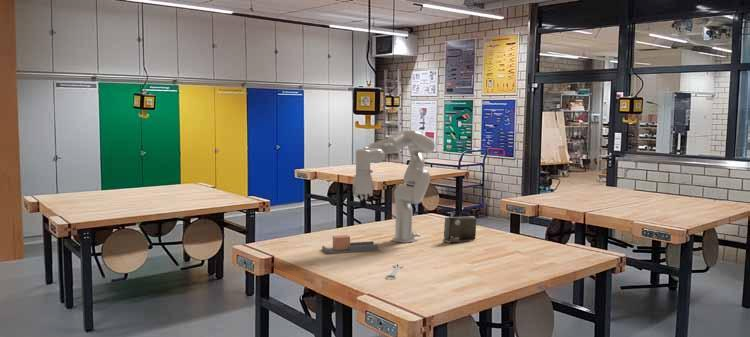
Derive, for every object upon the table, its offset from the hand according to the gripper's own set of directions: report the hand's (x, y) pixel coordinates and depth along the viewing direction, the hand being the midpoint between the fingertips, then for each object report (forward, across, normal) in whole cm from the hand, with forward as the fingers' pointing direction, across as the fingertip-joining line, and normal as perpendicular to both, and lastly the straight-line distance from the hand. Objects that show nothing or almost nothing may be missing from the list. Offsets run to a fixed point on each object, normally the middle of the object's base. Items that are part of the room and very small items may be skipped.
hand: (363, 207), depth 309 cm
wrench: (+23, +1, +48) cm, 53 cm away
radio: (+24, -60, -4) cm, 65 cm away
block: (+21, +12, +1) cm, 24 cm away
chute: (+22, +7, +1) cm, 23 cm away
